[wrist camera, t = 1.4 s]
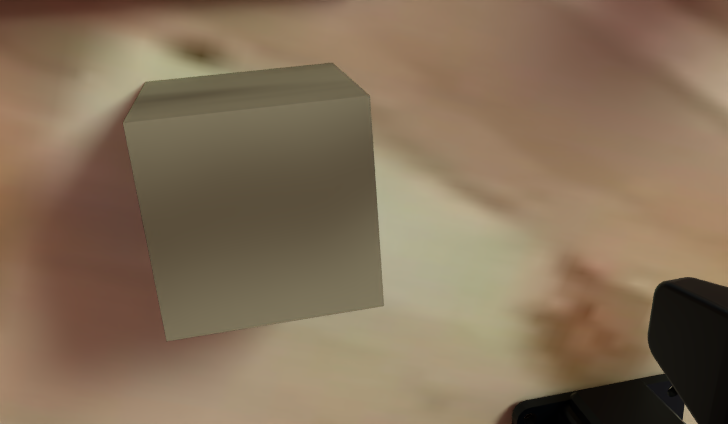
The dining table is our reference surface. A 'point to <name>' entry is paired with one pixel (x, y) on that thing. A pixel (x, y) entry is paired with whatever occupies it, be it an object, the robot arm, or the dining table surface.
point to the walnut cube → (257, 197)
